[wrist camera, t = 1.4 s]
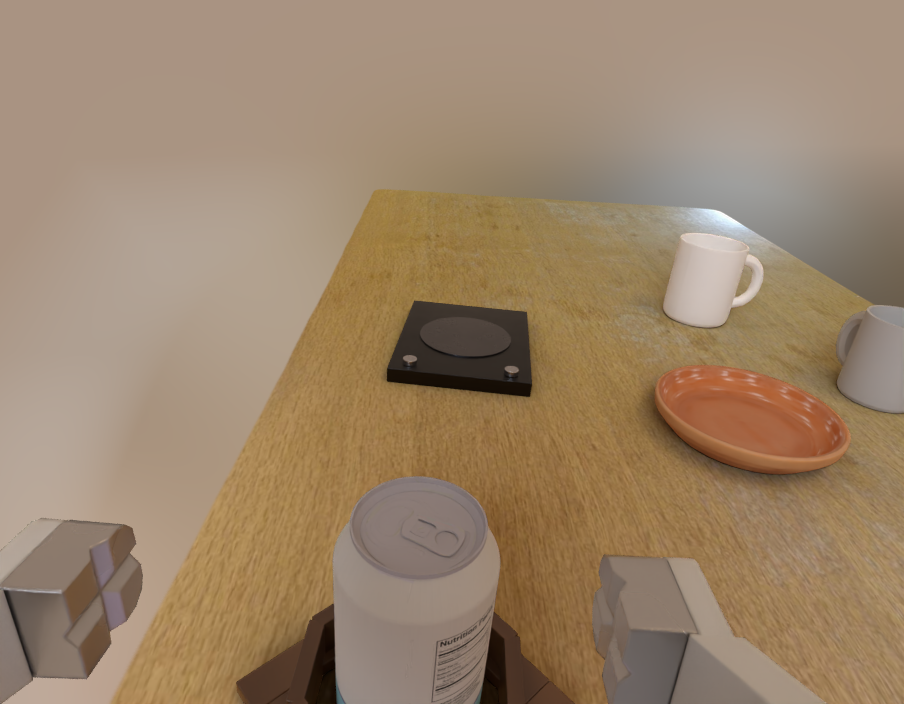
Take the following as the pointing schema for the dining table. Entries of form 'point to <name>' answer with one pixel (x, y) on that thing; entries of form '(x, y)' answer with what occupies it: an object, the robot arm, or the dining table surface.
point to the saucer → (750, 419)
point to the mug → (709, 279)
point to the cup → (873, 358)
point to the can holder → (303, 665)
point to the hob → (463, 349)
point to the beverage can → (414, 595)
